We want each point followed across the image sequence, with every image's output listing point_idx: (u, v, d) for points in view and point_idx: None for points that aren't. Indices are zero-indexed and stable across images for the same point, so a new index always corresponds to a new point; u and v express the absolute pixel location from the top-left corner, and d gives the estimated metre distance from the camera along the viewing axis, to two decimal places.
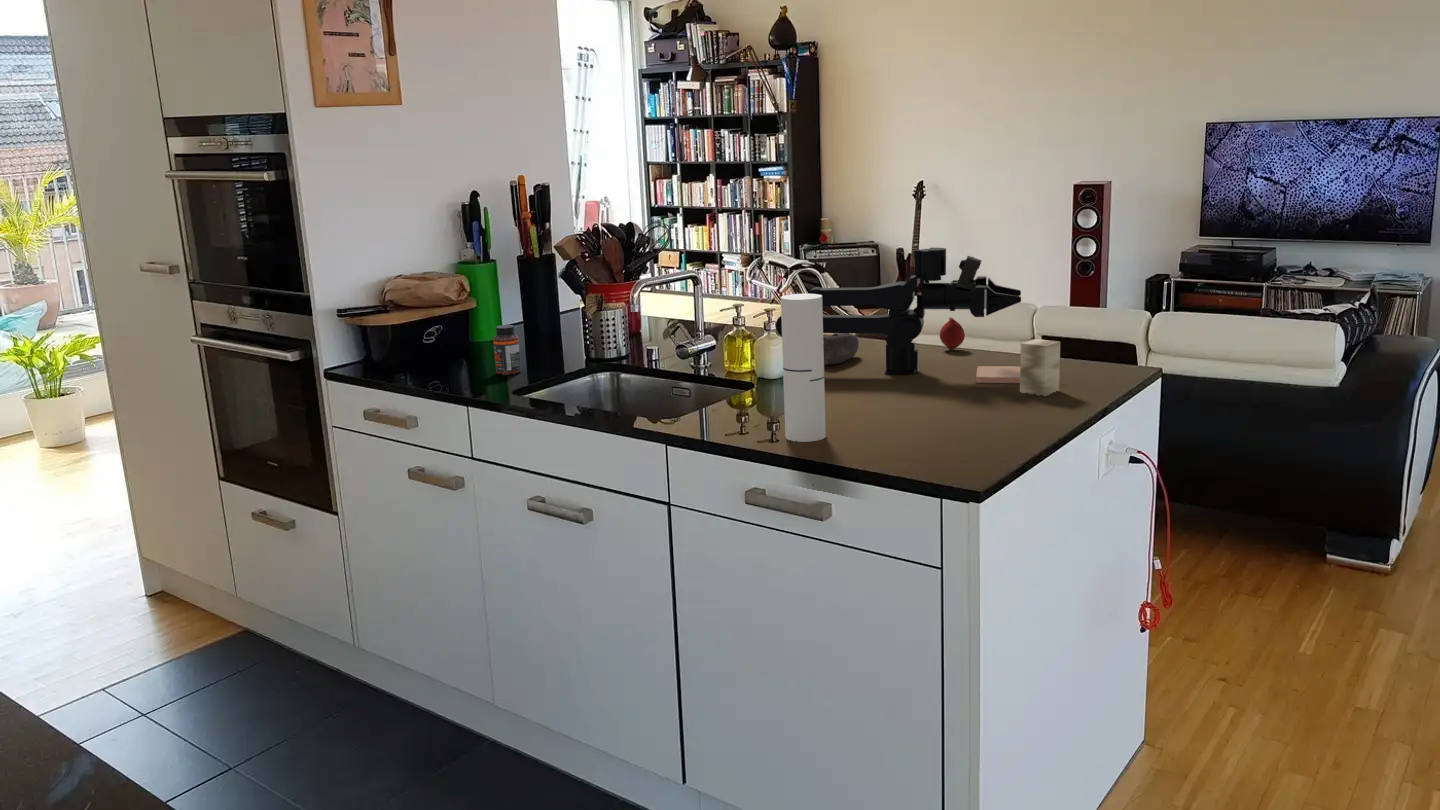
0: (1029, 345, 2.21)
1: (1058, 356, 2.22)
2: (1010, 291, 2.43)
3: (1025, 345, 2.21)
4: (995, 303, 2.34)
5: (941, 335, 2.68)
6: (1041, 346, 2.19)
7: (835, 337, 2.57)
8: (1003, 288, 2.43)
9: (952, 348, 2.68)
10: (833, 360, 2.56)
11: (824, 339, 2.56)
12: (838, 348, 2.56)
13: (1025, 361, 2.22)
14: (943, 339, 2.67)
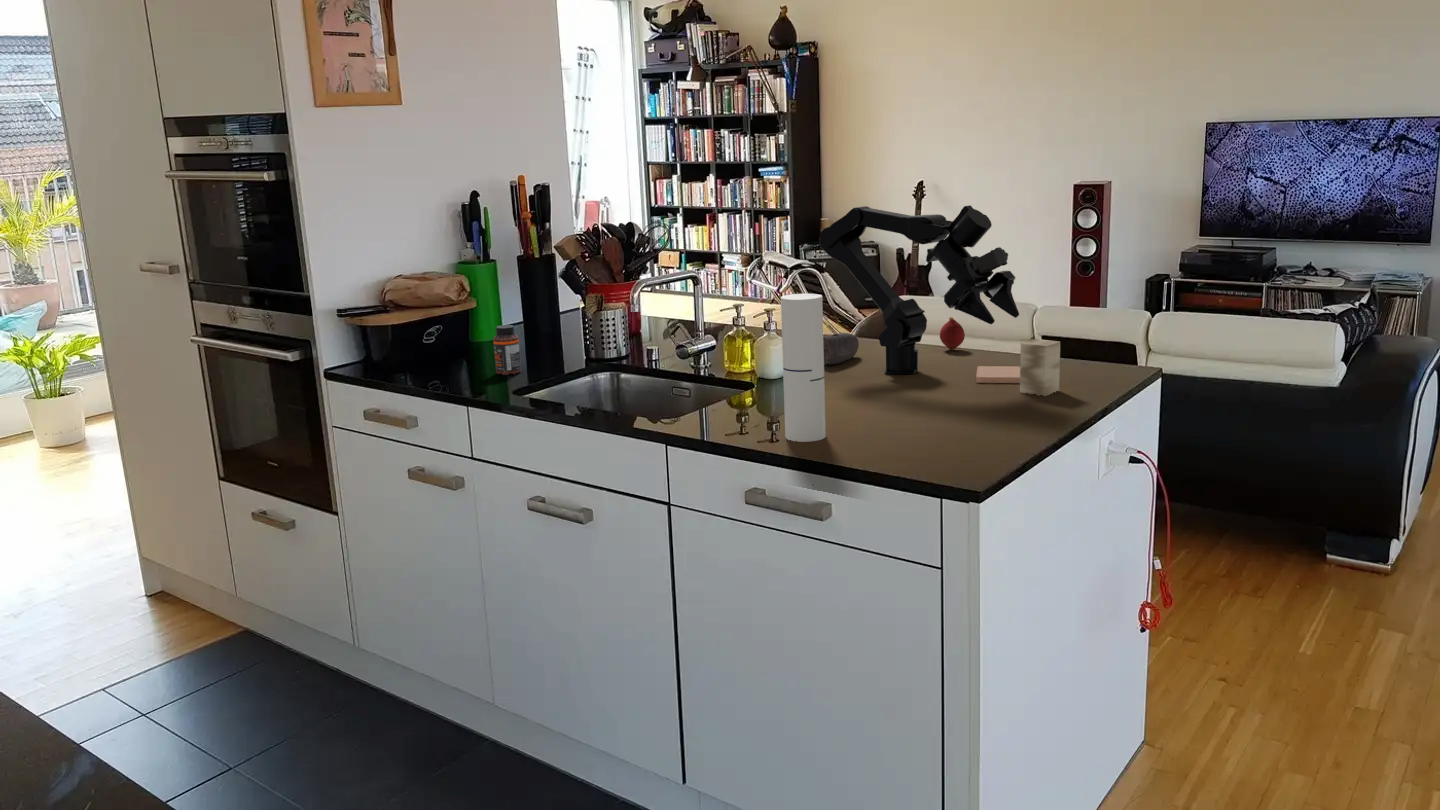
0: (1029, 345, 2.21)
1: (1058, 356, 2.22)
2: (1011, 307, 2.30)
3: (1025, 345, 2.21)
4: (971, 306, 2.25)
5: (941, 335, 2.68)
6: (1041, 346, 2.19)
7: (835, 337, 2.57)
8: (1009, 299, 2.31)
9: (952, 348, 2.68)
10: (833, 360, 2.56)
11: (824, 339, 2.56)
12: (838, 348, 2.56)
13: (1025, 361, 2.22)
14: (943, 339, 2.67)
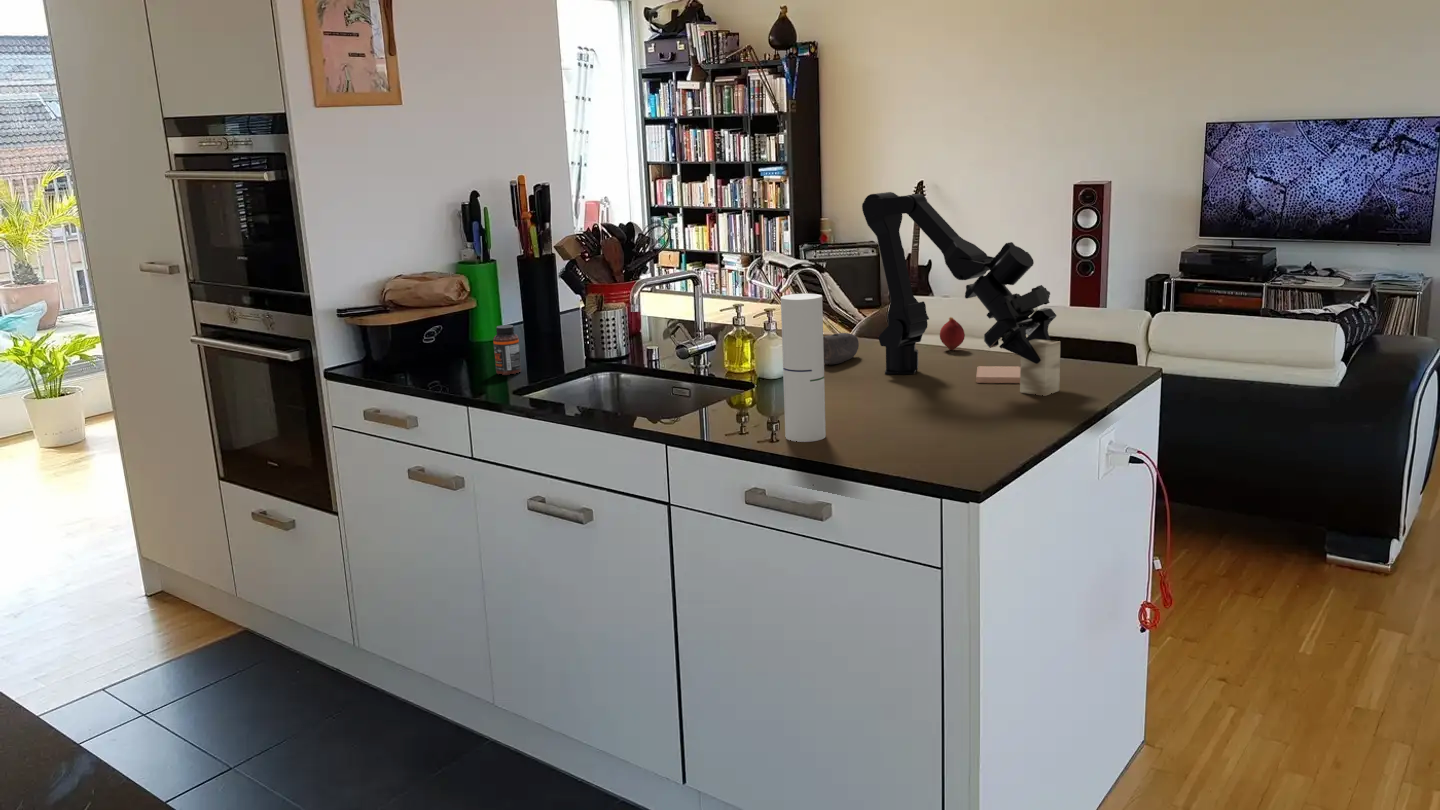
0: None
1: (1058, 356, 2.22)
2: None
3: None
4: (1017, 345, 2.21)
5: (941, 335, 2.68)
6: (1041, 346, 2.19)
7: (835, 337, 2.57)
8: None
9: (952, 348, 2.68)
10: (833, 360, 2.56)
11: (825, 339, 2.56)
12: (838, 348, 2.56)
13: (1025, 361, 2.22)
14: (943, 339, 2.67)
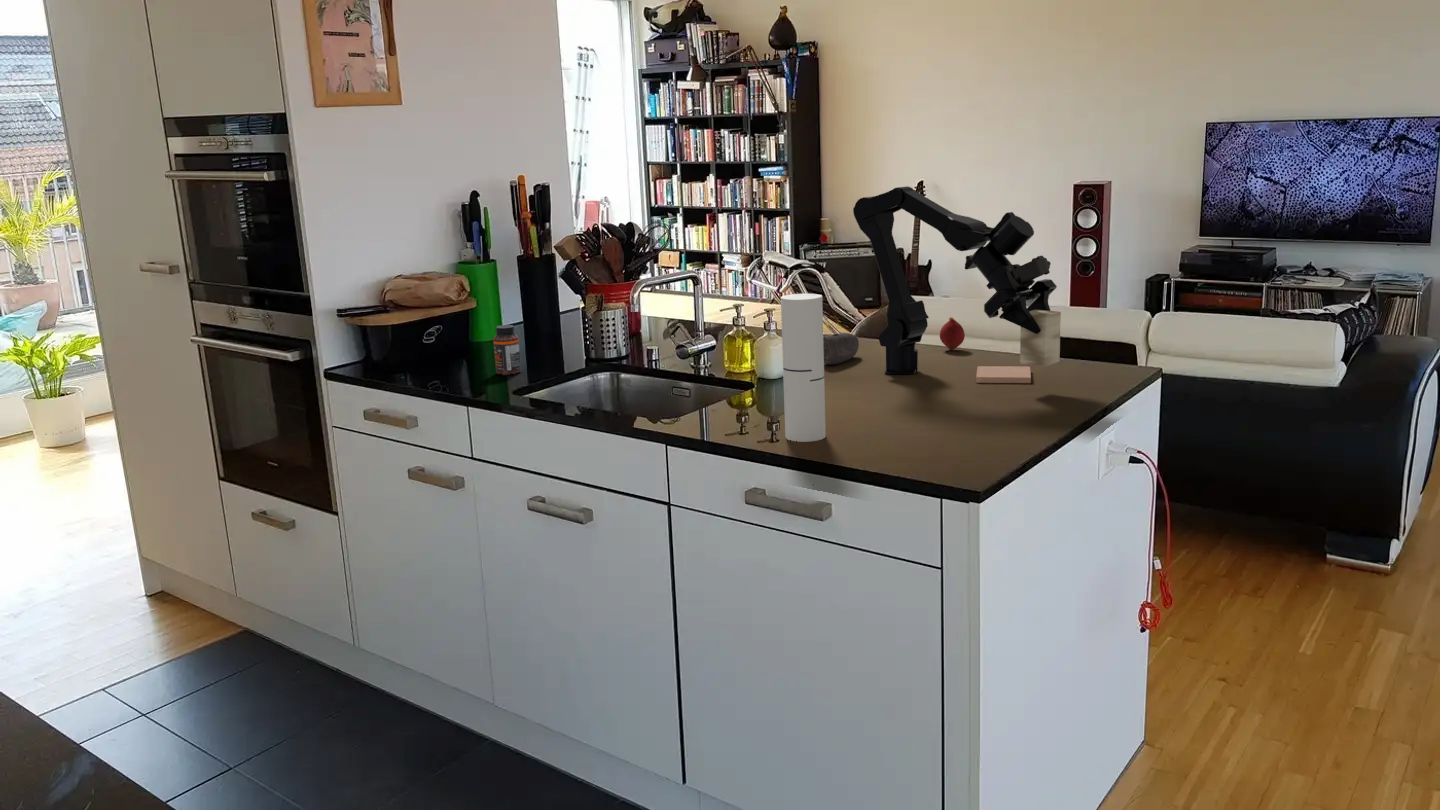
0: None
1: (1058, 326, 2.21)
2: None
3: None
4: (1017, 315, 2.20)
5: (941, 335, 2.68)
6: (1041, 316, 2.18)
7: (835, 337, 2.57)
8: (1046, 310, 2.23)
9: (952, 348, 2.68)
10: (834, 360, 2.56)
11: (825, 339, 2.56)
12: (838, 348, 2.56)
13: (1025, 331, 2.21)
14: (943, 339, 2.67)
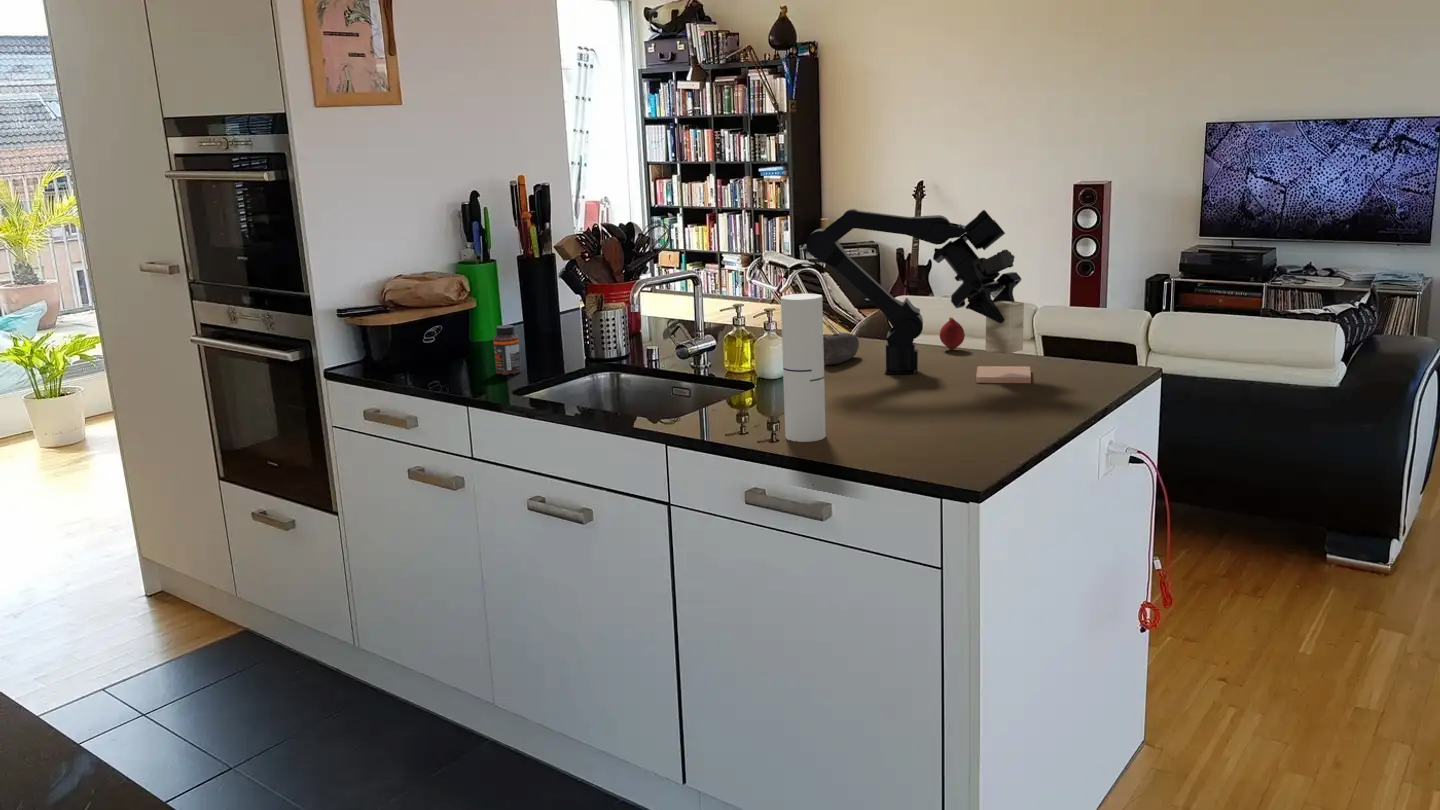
0: None
1: (1022, 316, 2.34)
2: None
3: None
4: (982, 306, 2.33)
5: (941, 335, 2.67)
6: (1005, 306, 2.31)
7: (836, 337, 2.57)
8: None
9: (952, 348, 2.68)
10: (834, 360, 2.56)
11: (825, 339, 2.56)
12: (838, 348, 2.56)
13: (990, 321, 2.34)
14: (943, 339, 2.67)
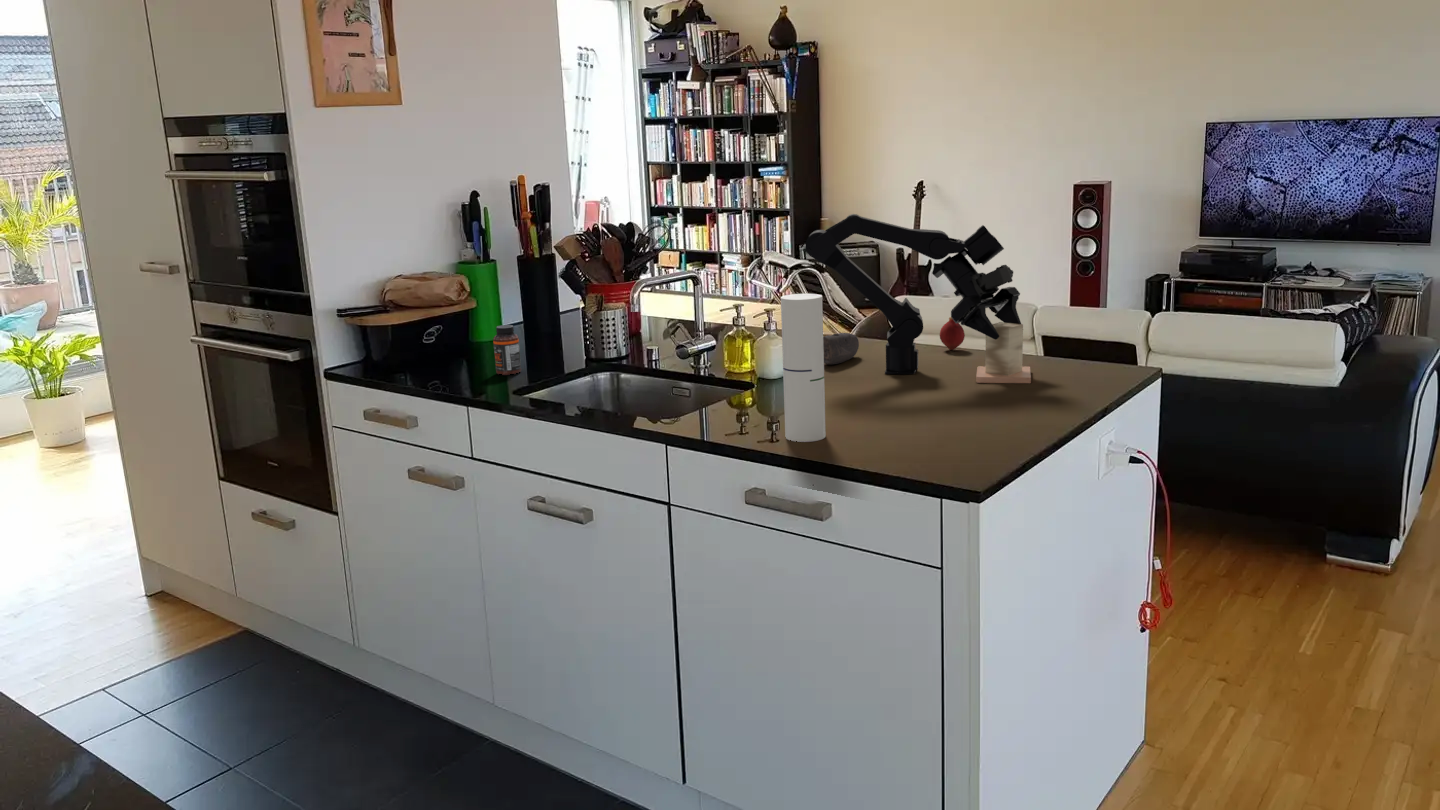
0: None
1: (1021, 338, 2.36)
2: (1016, 322, 2.38)
3: None
4: (977, 322, 2.33)
5: (941, 335, 2.67)
6: (1004, 328, 2.32)
7: (836, 337, 2.57)
8: (1014, 315, 2.39)
9: (952, 348, 2.68)
10: (834, 359, 2.56)
11: (825, 339, 2.56)
12: (839, 348, 2.56)
13: (990, 342, 2.36)
14: (943, 339, 2.67)
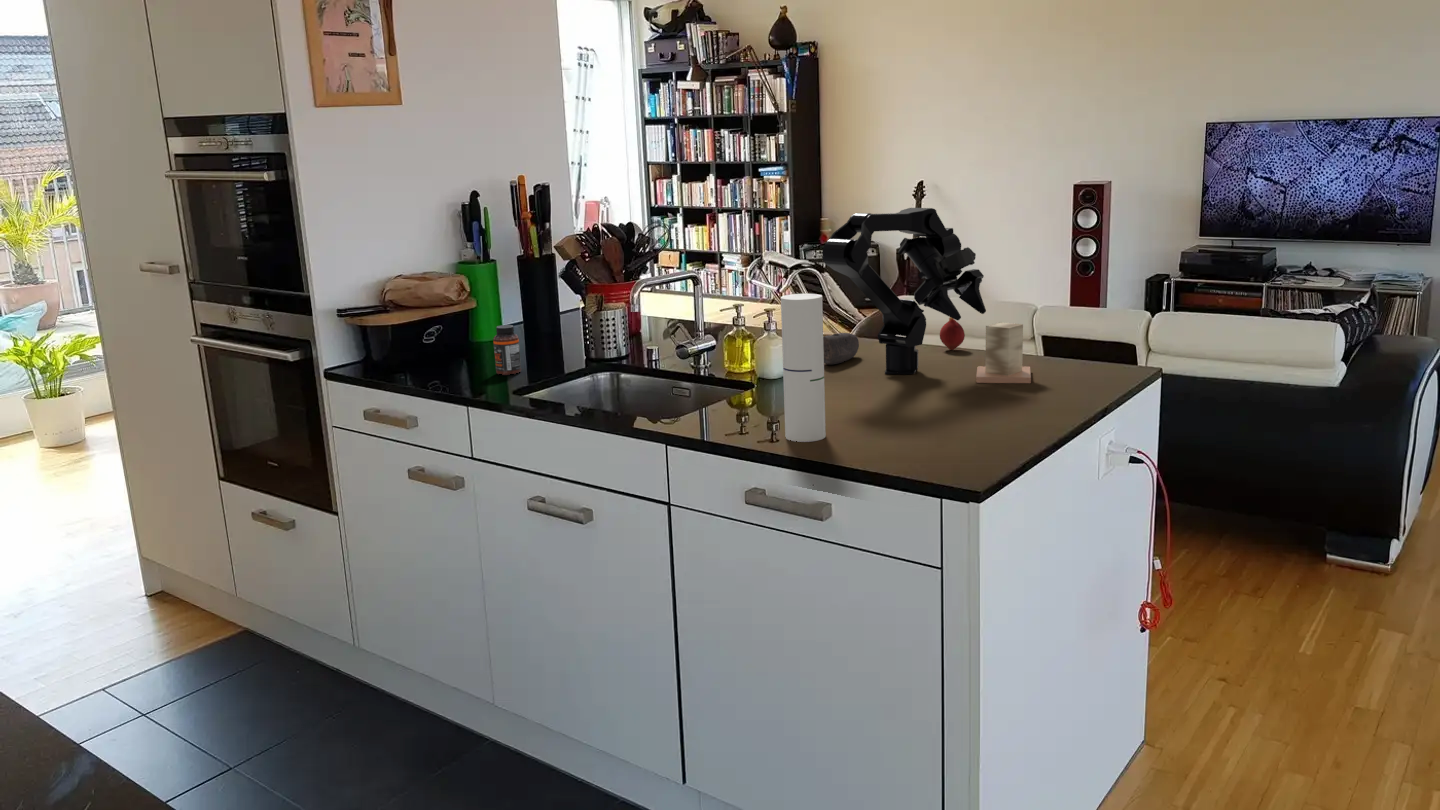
0: (993, 327, 2.34)
1: (1021, 338, 2.36)
2: (979, 304, 2.44)
3: (990, 328, 2.35)
4: (939, 303, 2.39)
5: (941, 335, 2.67)
6: (1004, 328, 2.32)
7: (836, 337, 2.57)
8: (977, 297, 2.44)
9: (952, 348, 2.68)
10: (834, 359, 2.56)
11: (825, 339, 2.56)
12: (839, 348, 2.56)
13: (990, 342, 2.36)
14: (943, 339, 2.67)
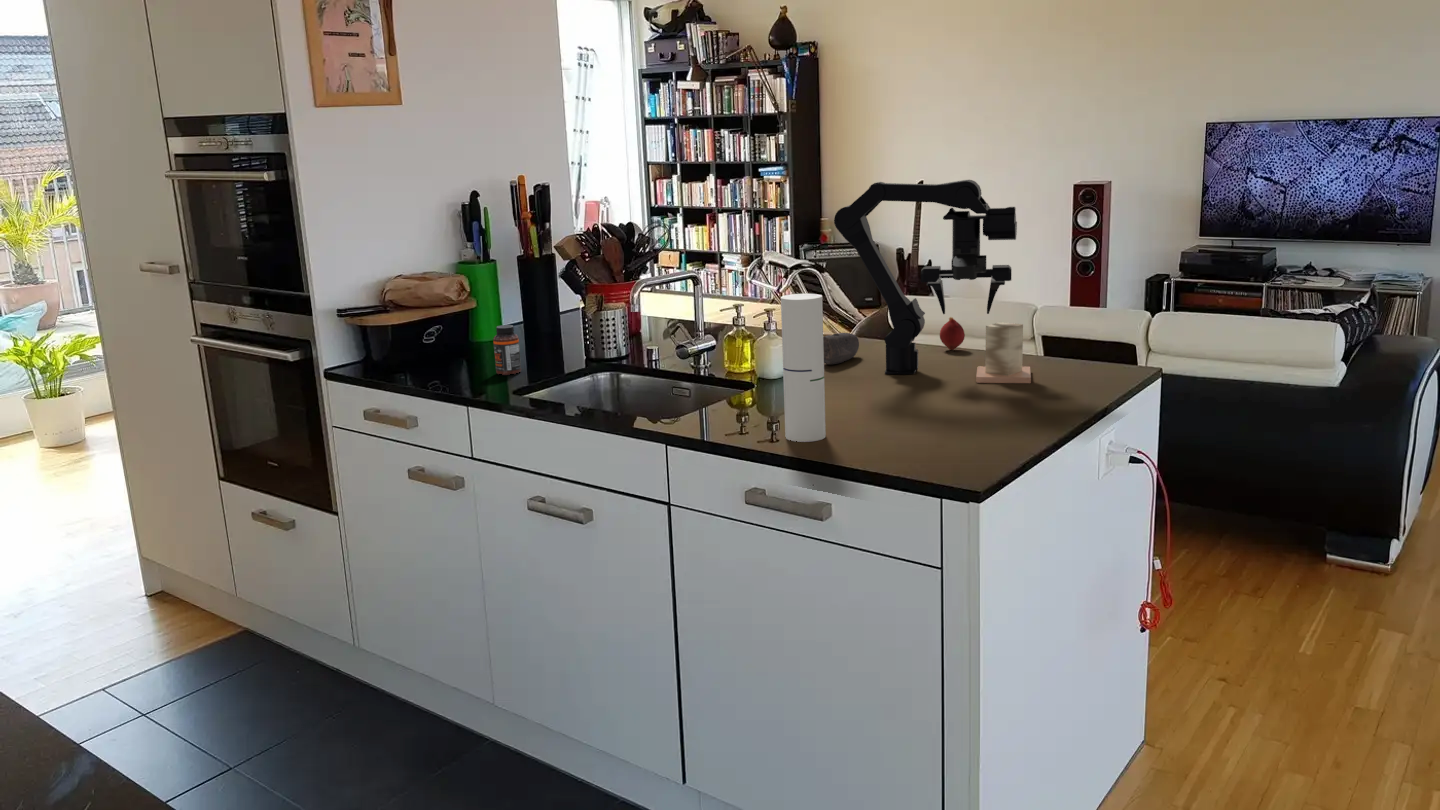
0: (993, 327, 2.34)
1: (1021, 338, 2.36)
2: None
3: (990, 328, 2.35)
4: None
5: (941, 335, 2.67)
6: (1004, 328, 2.32)
7: (836, 337, 2.57)
8: (988, 297, 2.38)
9: (952, 348, 2.68)
10: (834, 359, 2.56)
11: (826, 339, 2.56)
12: (839, 348, 2.56)
13: (990, 342, 2.36)
14: (943, 339, 2.67)
